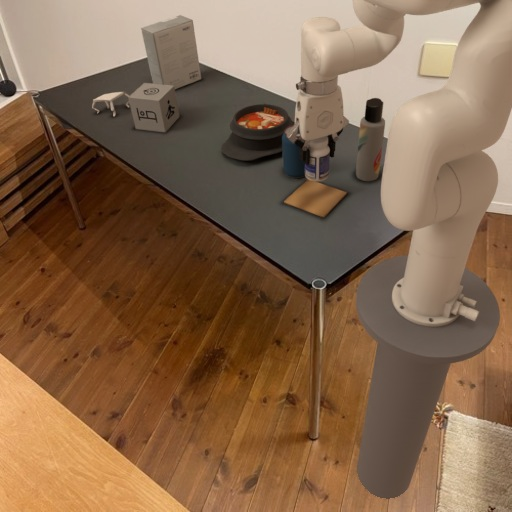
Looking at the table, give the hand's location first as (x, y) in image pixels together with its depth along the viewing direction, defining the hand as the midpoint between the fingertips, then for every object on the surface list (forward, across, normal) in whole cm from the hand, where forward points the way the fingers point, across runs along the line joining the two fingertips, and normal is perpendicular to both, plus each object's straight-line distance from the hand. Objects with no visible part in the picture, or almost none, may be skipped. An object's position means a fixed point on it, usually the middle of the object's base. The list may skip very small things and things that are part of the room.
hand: (317, 157), depth 117 cm
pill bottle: (+5, 0, 0) cm, 5 cm away
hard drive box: (+10, -10, +79) cm, 80 cm away
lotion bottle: (+10, +15, 0) cm, 18 cm away
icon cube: (+10, -24, +55) cm, 61 cm away
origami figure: (+10, -33, +71) cm, 79 cm away
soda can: (+10, 0, +10) cm, 14 cm away
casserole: (+10, -2, +28) cm, 29 cm away
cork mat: (+10, -1, -2) cm, 10 cm away
